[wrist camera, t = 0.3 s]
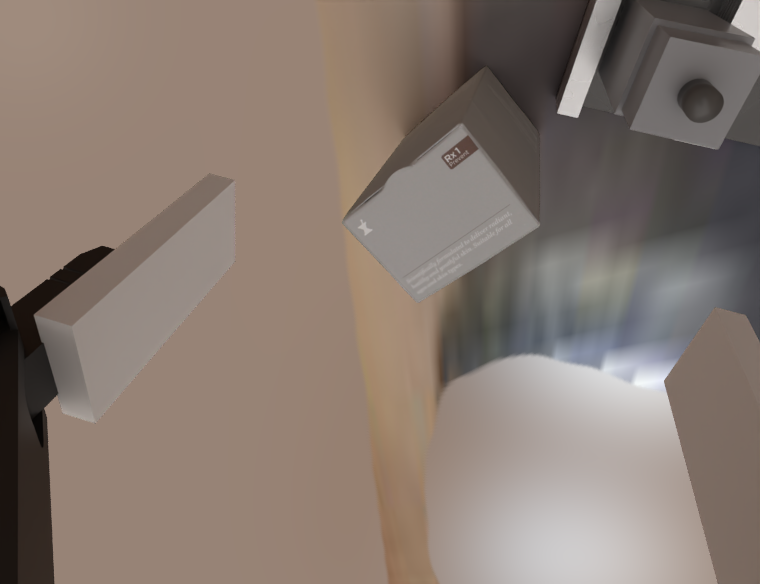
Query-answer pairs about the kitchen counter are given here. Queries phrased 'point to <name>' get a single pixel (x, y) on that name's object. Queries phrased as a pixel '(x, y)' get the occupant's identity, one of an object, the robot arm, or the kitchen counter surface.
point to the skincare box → (453, 190)
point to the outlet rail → (581, 77)
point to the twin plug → (678, 71)
